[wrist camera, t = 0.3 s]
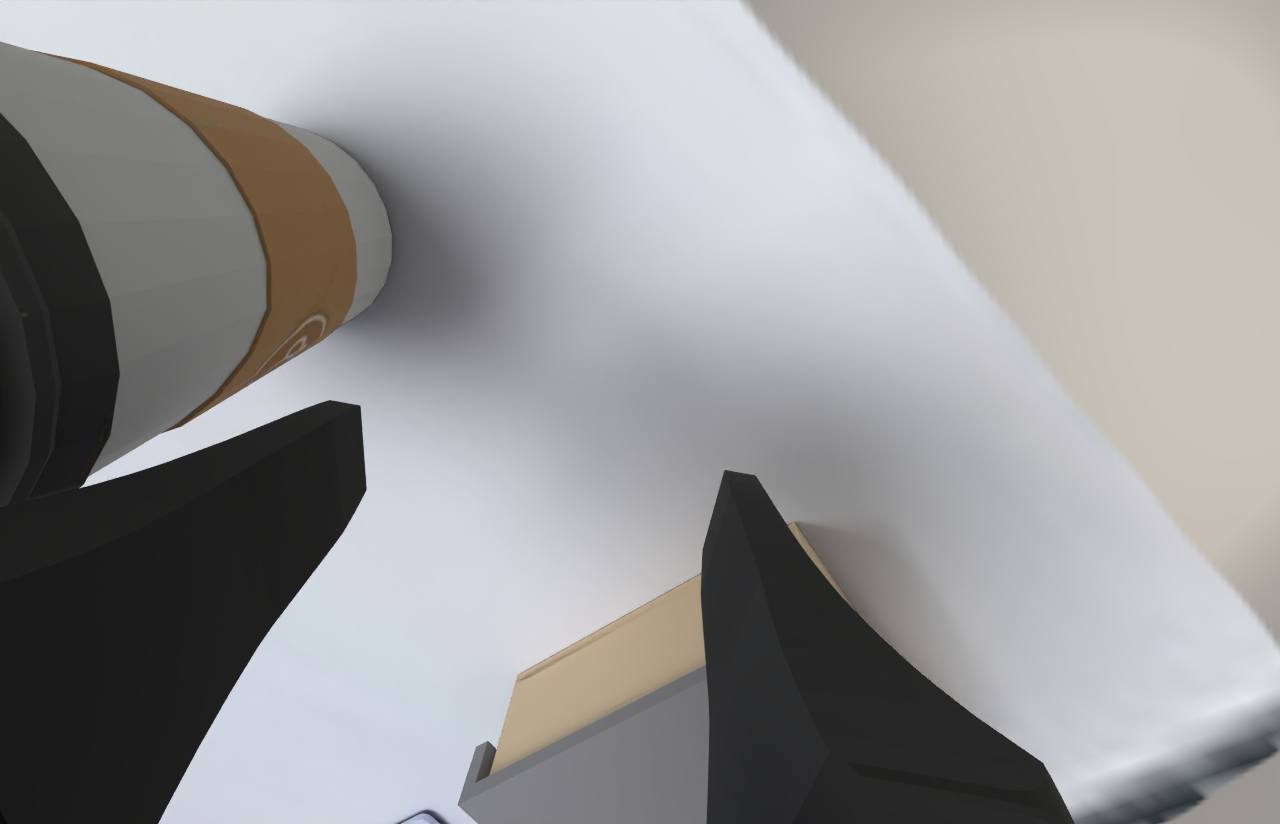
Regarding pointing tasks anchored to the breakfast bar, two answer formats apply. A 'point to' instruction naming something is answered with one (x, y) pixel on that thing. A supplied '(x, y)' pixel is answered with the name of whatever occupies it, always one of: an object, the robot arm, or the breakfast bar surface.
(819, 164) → the breakfast bar surface
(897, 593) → the breakfast bar surface
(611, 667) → the storage box
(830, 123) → the breakfast bar surface
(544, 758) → the grey square slab
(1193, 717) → the breakfast bar surface
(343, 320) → the coffee cup
